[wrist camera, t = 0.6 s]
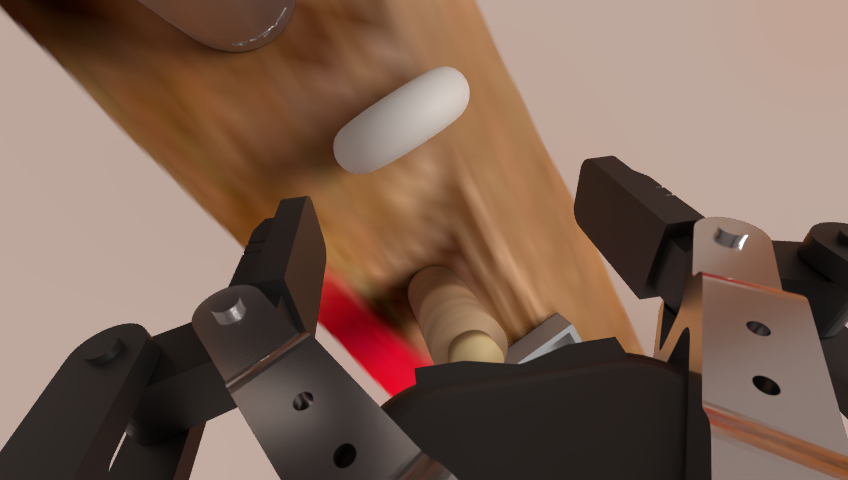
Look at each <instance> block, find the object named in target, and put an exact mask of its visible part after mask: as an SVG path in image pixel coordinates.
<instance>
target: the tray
mask: <svg viewBox="0 0 848 480" xmlns="http://www.w3.org/2000/svg"><path fill="white" fill-rule="evenodd" d="M580 342H582V340H581V338H580V337H579V335H578V333H577V332H576V330H575V328H574V327H573V325H572V324H571V323H570V322H569V321H568V320H566V319H565V318H564V317H563V316H561V315H560V314H559V313H556V314H555V315H553V316H552V317H551V318H549V319H548V320H546V321H545V322H544V323H542V324H541V325H540V326H538V327H537V328H535V329H534V330H533V331H531V332H530V333H528V334H527V335H526V336H524V337H523V338H522V339H520V340H519V341H517V342H516V343H515V344H513V345H512V346H510V347H509V348H508V350H507V355H506V358H505V360H504V363H508V364H521V363H525V362H527V361H530V360H532V359H534V358H537V357H539V356H541V355H544V354H546V353H548V352H551V351H553V350H555V349H557V348H560V347H562V346H564V345H567V344H573V343H580Z"/></svg>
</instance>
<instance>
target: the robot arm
mask: <svg viewBox="0 0 848 480" xmlns="http://www.w3.org/2000/svg"><path fill="white" fill-rule="evenodd" d="M137 1H139V2H140V3H142V4H143V5H145V6H146V7H148V8H149V9H150V10H152V11H153V12H155V13H156V14H158V15H159V16H160V17H162V18H163V19H165V20H166V21H168V22H169V23H170V24H172V25H173V26H175V27H176V28H178V29H179V30H181V31H182V32H184V33H185V34H187V35H188V36H190V37H191V38H193V39H195V40H196V41H198V42H199V43H201V44H204V45H206V46H209V47H211V48H214V49H218V50H223V51H228V52H245V51H249V50H253V49H257V48H260V47H262V46H263V45H265V44H267V43H269V42H271V41H272V40H273V39H274V38H275V37H277V36H278V35H279V34H280V33H281V32H282V30H283V29H284V27H285V26H286V24H287V23H288V22H289V19H290V17H291V14H292V11H293V9H294V4H295V0H137ZM574 215H575V219H576V222H577V224H578V225H579V227H580V228H581V229H582V230H583V232H584V233H585V234H586V235H587V236H588V238H589V239H590V240H591V241H592V243H593V244H594V245H595V246H596V247H597V249H598V250H599V251H600V252H601V253H602V255H603V256H604V257H605V258H606V260H607V261H608V262H609V263H610V264H611V265H612V267H613V268H614V269H615V270H616V272H617V273H618V274H619V275H620V277H621V278H622V279H623V280H624V281H625V283H626V284H627V285H628V286H629V288H630V289H631V290H632V291H633V292H634V294H635V295H636V296H637V297H638V298H639V299H646V298H652V297H659V296H660V297H661V298H662V299H663V301H662V304H661V306H660V309H659V315H658V323H657V331H656V340H655V348H654V356H653V358H652V357H648V356H644V355H639V354H633V353H626V352H625V351H624V349H623V348H622V346H621V345H620V343H619V342H618V340H617V339H616V337H611V338H605V339H599V340H592V341H586V342H580V343H573V344H567V345H564V346H562V347H560V348H557V349H555V350H553V351H551V352H548V353H546V354H544V355H541V356H539V357H537V358H534V359H532V360H530V361H527V362H525V363H521V364H508V363H493V362H479V361H459V362H452V363H446V364H440V365H433V366H427V367H420V368H415V377H416V385H413V386H411V387H409V388H407V389H405V390H403V391H401V392H400V393H398V394H396V395H395V396H393V397H392V398H391V399H389V400H388V401H387V402H385V403H384V404H383V405H382V406H381V407H379V405H378V404H377V403H376V402H375V401H374V400H373V399H372V398H371V397H370V396H369V395H368V394H367V393H366V392H365V391H364V390H363V389H362V387H360V385H359V384H358V383H357V382H356V381H355V380H354V379H353V378H352V377H351V376H350V375H349V374H348V373H347V372H346V371H345V370H344V369H343V368H342V366H341V365H340V364H339V363H338V362H337V361H336V360H335V359H334V358H333V357H332V356H331V355H330V354H329V353H328V352H327V351H326V350H325V349H324V348H323V346H322V345H321V344H320V343H319V342H318V341H317V340H316V339H315V332H316V326H317V320H318V313H319V306H320V299H321V292H322V286H323V279H324V272H325V265H326V247H325V242H324V238H323V235H322V232H321V229H320V225H319V222H318V219H317V215H316V212H315V209H314V206H313V203H312V200H311V198H310V197H309V196H304V197H296V198H289V199H282V200H281V201H280V204H279V207H278V209H277V212H276V214H275V217H274V218H269V219H265V220H264V221H263V222H262V223H261V224H260V225H259V226H258V227H257V228H256V229H254V230H253V233H252V235H251V237H250V239H249V242H248V244H249V245H247V246H246V248H245V251H244V255H243V256H242V257H241V260H240V262H239V264H238V266H237V269H236V271H235V273H234V275H233V278H232V280H231V282H230V284H229V287H228V288H225V289H223V290H220V291H218V292H216V293H214V294H213V295H211V296H210V297H208V298H207V299H206V300H204V301H203V302H202V303H201V304H200V305H199V306H198V308H197V309H196V311H195V312H194V315H193V317H192V322H190V323H188V324H185V325H183V326H180V327H177V328H175V329H172V330H169V331H166V332H164V333H161V334H158V335H156V336H153V337H151V335H150V334H149V333H148V332H147V330H146V329H145V328H144V327H143V326H141V325H139V324H131V323H129V324H122V325H117V326H114V327H112V328H108V329H106V330H104V331H102V332H100V333H98V334H96V335H94V336H92V337H91V338H89V339H88V340H86V341H85V342H83V343H82V344H81V345H80V346H78V347H77V348H76V349H75V350H74V351H73V352H72V353H71V354H70V355H69V356H68V358H67V359H66V360H65V362H64V363H63V365H62V366H61V367H60V369H59V370H58V372H57V373H56V374H55V376H54V377H53V379H52V380H51V381H50V383H49V384H48V386H47V387H46V388H45V390H44V391H43V393H42V394H41V395H40V397H39V398H38V400H37V401H36V402H35V404H34V405H33V407H32V408H31V410H30V411H29V412H28V414H27V415H26V416H25V418H24V419H23V421H22V422H21V423H20V425H19V426H18V428H17V429H16V430H15V432H14V433H13V435H12V436H11V437H10V439H9V440H8V442H7V443H6V445H5V446H4V447H3V449H2V450H1V452H0V480H189V478H190V474H191V471H192V468H193V464H194V461H195V457H196V454H197V451H198V448H199V444H200V441H201V438H202V434H203V431H204V428H205V424H206V421H208V420H210V419H213V418H215V417H217V416H219V415H221V414H224V413H226V412H228V411H230V410H232V409H235V408H237V407H238V408H239V410H240V411H241V413H242V415H243V416H244V418H245V420H246V422H247V423H248V425H249V426H250V428H251V430H252V432H253V433H254V435H255V437H256V438H257V440H258V442H259V443H260V445H261V447H262V449H263V450H264V452H265V454H266V455H267V457H268V459H269V460H270V462H271V464H272V465H273V467H274V469H275V471H276V472H277V474H278V476H279V477H280V479H281V480H848V439H847V435H846V432H845V428H844V424H843V421H842V417H841V414H840V412H841V413H842V414H843V415H844V416H845V417H846V418H847V419H848V328H847V327H846V326H845V325H846V323H847V322H848V224H846V223H836V222H827V223H826V222H825V223H819V224H817V225H814V226H813V227H812V228H811V229H810V231H809V233H808V234H807V236H806V237H805V239H804V241H803V242H791V241H773V240H771V239H770V237H769V236H768V235H767V234H766V233H765V232H764V231H762V230H761V229H759V228H757V227H755V226H753V225H751V224H749V223H746V222H743V221H740V220H736V219H731V218H725V217H708V218H705V217H704V216H702V215H701V214H699V213H698V212H697V211H696V210H694V209H693V208H691V207H690V206H689V205H687V204H686V203H684V202H683V201H682V200H681V199H679V198H678V197H676V196H675V195H673V196H672V193H671V192H670V191H668V190H667V189H666V188H662V186H661V185H660V184H659V183H657V182H656V181H654V180H653V179H652V178H650V177H649V176H647V175H644V174H641V173H639V172H636V171H634V170H632V169H631V168H629V167H628V166H627V165H625V164H624V163H623V162H621V161H620V160H619V159H617V158H616V157H615V156H606V157H599V158H591V159H586V160H585V161H584V162H583V164H582V166H581V170H580V175H579V182H578V187H577V192H576V198H575V203H574ZM124 432H126V433H127V434H126V436H125V438H124V441H123V443H122V445H121V447H120V449H119V451H118V453H117V456H116V458H115V460H114V462H113V464H112V467H111V468H110V471H109V466H110V463H111V460H112V457H113V455H114V453H115V451H116V449H117V447H118V444H119V442H120V440H121V438H122V436H123V434H124Z"/></svg>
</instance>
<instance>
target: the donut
mask: <svg viewBox="0 0 848 480" xmlns="http://www.w3.org/2000/svg"><path fill="white" fill-rule="evenodd" d="M469 97H470V96H469V86H468V83H467V80H466V79H465V77H464V76H463V75H462V73H460V72H459V71H457V70H456V69H454V68H450V67H447V66H446V67H437V68H434V69H432V70H430V71H428V72H426V73H424V74H422V75H420V76H418V77H416V78H415V79H413V80H411V81H410V82H408V83H406V84H405V85H403V86H401V87H400V88H398V89H397V90H395V91H393V92H392V93H390V94H389V95H387V96H386V97H384V98H383V99H381V100H380V101H378V102H376V103H375V104H374V105H372V106H371V107H369V108H368V109H366V110H365V111H363V112H362V113H361V114H359V115H358V116H356V117H355V118H354V119H352V120H351V121H350V122H349V123H347V124H346V125H345V126H344V127H343V128H342V129H341V130H340V131H339V132H338V134H337V136H336V137H335V139H334V145H333V150H334V156H335V158H336V160H337V162H338V164H339V165H340V166H341V167H342V168H343V169H345V170H346V171H348V172H350V173H354V174H367V173H370V172H373V171H375V170H377V169H379V168H381V167H384V166H385V165H387V164H389V163H391V162H393V161H395V160H396V159H398V158H400V157H401V156H403V155H405V154H407V153H408V152H410V151H411V150H413V149H415V148H416V147H418V146H419V145H421V144H423V143H424V142H426V141H427V140H429V139H430V138H432V137H433V136H435V135H436V134H438V133H439V132H440V131H442V130H443V129H445V128H446V127H447V126H449V125H450V124H451V123H452V122H453V121H455V120H456V119H457V118H458V117H459V116H461V114H462V113H463V111H464V110H465V108H466V107H467V105H468V101H469Z"/></svg>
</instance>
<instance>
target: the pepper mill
mask: <svg viewBox="0 0 848 480" xmlns="http://www.w3.org/2000/svg"><path fill="white" fill-rule="evenodd" d="M408 300H409V303H410V305H411V308H412V310H413V312H414V315H415V317H416V320H417V322H418V325H419V327H420V330H421V332H422V335H423V337H424V340H425V342H426V345H427V347H428V350H429V352H430V355H431V357H432V360H433V362H434V365H440V364H446V363H452V362H459V361H479V362H493V363H504V360H505V358H506V355H507V350H508V342H507V337H506V335H505V332H504V331H503V329H502V328H501V327H500V325H499V324H498V323H497V322H496V321H495V320H494V318H493V317H492V316H491V315H490V314H489V312H488V311H487V310H486V309H485V308H484V307H483V305H482V304H481V303H480V302H479V301H478V300H477V298H476V297H475V296H474V295H473V294H472V292H471V291H470V290H469V289H468V288H467V287H466V285H465V284H464V283H463V282H462V281H461V279H460V278H459V277H458V276H457V275H456V274H455V272H453V271H452V270H451V269H450V268H448V267H445V266H441V265H431V266H428V267H425V268H423V269H421V270H420V271H418V272H417V273H416V274H415V275H414V276H413V278H412V279H411V281H410V283H409V286H408Z"/></svg>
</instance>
